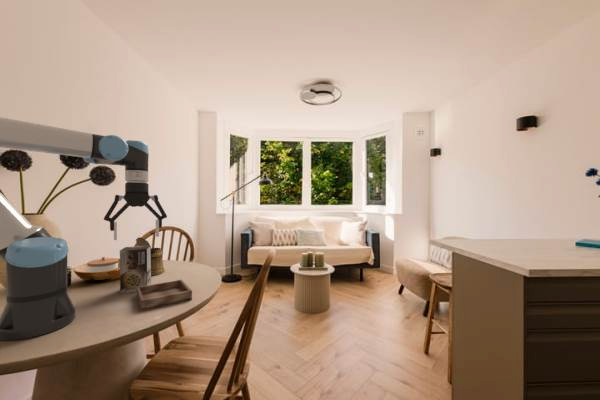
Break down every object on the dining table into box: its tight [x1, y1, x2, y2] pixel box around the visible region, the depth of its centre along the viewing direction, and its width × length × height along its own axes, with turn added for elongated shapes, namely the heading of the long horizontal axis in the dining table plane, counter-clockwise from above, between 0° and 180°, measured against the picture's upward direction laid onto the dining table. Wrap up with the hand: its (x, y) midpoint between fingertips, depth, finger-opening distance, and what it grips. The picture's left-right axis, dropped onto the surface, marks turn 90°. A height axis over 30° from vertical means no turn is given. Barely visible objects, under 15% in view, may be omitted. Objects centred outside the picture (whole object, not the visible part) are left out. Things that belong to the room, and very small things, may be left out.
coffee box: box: [119, 245, 152, 294], centre depth 98 cm, size 9×6×16 cm
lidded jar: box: [86, 256, 120, 273], centre depth 110 cm, size 11×11×9 cm
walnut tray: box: [136, 279, 193, 311], centre depth 90 cm, size 15×15×3 cm
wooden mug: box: [135, 237, 166, 276], centre depth 117 cm, size 9×14×18 cm, turn 169°
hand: (137, 237), depth 98 cm, fingers open, 13 cm apart
